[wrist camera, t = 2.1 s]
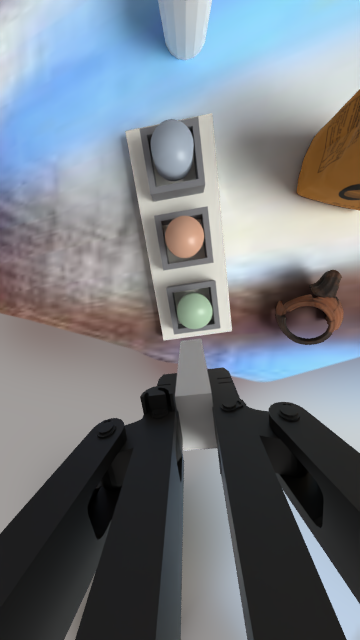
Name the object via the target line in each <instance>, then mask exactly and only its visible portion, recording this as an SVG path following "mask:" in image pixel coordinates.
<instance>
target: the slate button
mask: <svg viewBox="0 0 360 640" xmlns="http://www.w3.org/2000/svg"><path fill="white" fill-rule="evenodd" d="M193 147H194V143H193V137H192V134H191V132H190V130H189V129H188V127H187V126H186V125H185V124H184V123H182V122H181V121H178V120H173V119H171V120H166V121H164V122H162V123H160V124H159V125H158V126H157V127H156V129H155V130H154V132H153V135H152V138H151V152H152V156H153V159H154V163H155V166H156V169H157V171H158V173H159V174H160V175H161V176H162V177H163V178H164V179H166V180H169V181H178V180H181V179H183V178H184V177H185V176H186V175H187V174H188V173H189V171H190V169H191V166H192V161H193Z"/></svg>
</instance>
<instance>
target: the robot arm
mask: <svg viewBox="0 0 360 640" xmlns="http://www.w3.org/2000/svg"><path fill="white" fill-rule="evenodd" d="M140 398H141V402H142V407H143V412H144V416H143V418H142V419H141V420H139V421H137V422H134V423H131V424H128V425H125V426H124V422H123V421H122V420H121V419H117V418H113V419H108V420H105V421H103V422H101V423H99V424H98V425H96V426H95V427H94V428H93V429H92V430H91V431H90V432H89V434H88V435H87V436H86V437H85V438H84V440H82V442H81V443H80V444H79V445H78V446H77V447H76V448H75V449H74V451H73V452H72V453H71V454H70V455H69V456H68V458H67V459H66V460H65V461H64V462H63V463H62V464H61V466H60V467H59V468H58V469H57V470H56V471H55V472H54V473H53V475H52V476H51V477H50V478H49V479H48V480H47V481H46V482H45V484H44V485H43V486H42V487H41V488H40V489H39V490H38V492H37V493H36V494H35V495H34V496H33V497H32V498H31V499H30V501H29V502H28V503H27V504H26V505H25V506H24V507H23V509H22V510H21V511H20V512H19V513H18V514H17V515H16V516H15V518H14V519H13V520H12V521H11V522H10V523H9V524H8V526H7V527H6V528H5V529H4V530H3V531H2V533H1V534H0V640H64V639H65V636H66V634H67V632H68V630H69V628H70V626H71V623H72V621H73V619H74V617H75V615H76V613H77V610H78V608H79V606H80V604H81V602H82V600H83V598H84V595H85V593H86V591H87V589H88V587H89V585H90V582H91V580H92V578H93V576H94V574H95V576H94V580H93V583H92V586H91V590H90V593H89V596H88V599H87V603H86V606H85V609H84V612H83V616H82V619H81V622H80V626H79V629H78V632H77V636H76V639H75V640H181V639H180V636H181V589H182V534H183V484H184V460H183V454H182V447H183V449H184V451H186V450H198V449H210V448H218V456H219V465H220V474H221V476H222V482H223V489H224V495H225V501H226V508H227V514H228V520H229V526H230V532H231V538H232V545H233V552H234V557H235V564H236V570H237V577H238V583H239V589H240V595H241V602H242V607H243V614H244V620H245V626H246V633H247V639H248V640H346V637H345V635H344V632H343V630H342V628H341V625H340V623H339V621H338V618H337V616H336V614H335V611H334V609H333V607H332V604H331V602H330V600H329V597H328V595H327V593H326V590H325V588H324V586H323V583H322V581H321V579H320V577H319V574H318V572H317V569H316V567H315V565H314V562H313V560H312V558H311V556H310V553H309V551H308V548H307V546H306V544H305V541H304V539H303V537H302V534H301V532H300V530H299V527H298V525H297V523H296V520H295V518H294V516H293V513H292V511H291V509H290V506H289V504H288V502H287V499H286V497H285V495H284V492H285V494H286V495H287V496H288V498H289V499H290V501H291V502H292V504H293V505H294V507H295V508H296V510H297V511H298V513H299V514H300V516H301V517H302V519H303V520H304V522H305V523H306V525H307V526H308V528H309V529H310V531H311V532H312V534H313V535H314V537H315V538H316V539H317V541H318V542H319V544H320V545H321V547H322V548H323V550H324V551H325V553H326V554H327V556H328V557H329V559H330V560H331V562H332V563H333V565H334V566H335V568H336V569H337V571H338V572H339V574H340V575H341V576H342V578H343V580H344V581H345V583H346V584H347V586H348V587H349V588H350V590H351V591H352V593H353V594H354V596H355V597H356V599H357V600H358V602H359V603H360V453H359V452H357V451H356V450H355V449H354V448H352V447H351V446H350V445H349V444H347V443H346V442H345V441H343V440H342V439H341V438H340V437H339V436H337V435H336V434H335V433H334V432H332V431H331V430H330V429H329V428H327V427H326V426H325V425H324V424H322V423H321V422H320V421H319V420H317V419H316V418H315V417H314V416H312V415H311V414H310V413H308V412H307V411H306V410H305V409H303V408H302V407H300V406H298V405H296V404H293V403H288V402H278V403H275V404H273V405H271V406H270V408H269V412H268V411H260V410H255V409H252V408H249V407H248V406H246V404H245V403H244V401H243V400H241V399H240V398H239V395H238V393H237V390H236V388H235V386H234V383H233V380H232V378H231V376H230V373H229V371H227V370H226V369H225V368H215V369H207V366H206V361H205V356H204V351H203V346H202V340H201V339H195V340H186V341H181V343H180V353H179V362H178V372H177V373H175V374H166V375H163V376H162V377H161V378H160V379H159V381H158V384H157V386H156V387H152V388H150V389H148V390H146V391H145V392H143V394H142V395H141V397H140ZM282 489H283V490H282ZM283 491H284V492H283ZM95 572H96V573H95Z"/></svg>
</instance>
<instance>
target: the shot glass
mask: <svg viewBox="0 0 360 640" xmlns="http://www.w3.org/2000/svg"><path fill="white" fill-rule="evenodd" d="M158 3H159V9H160V15H161V21H162V26H163V32H164V38H165V43H166V46H167V48H168V49H169V51H170V53H171V54H172V55H173V56H175V57H176V58H177V59H182V60H188V59H191V58H194V57H195V56H196V55H197V54H198V53H199V52H200V51H201V49H202V47H203V45H204V43H205V38H206V32H207V26H208V21H209V15H210V9H211V3H212V0H158Z"/></svg>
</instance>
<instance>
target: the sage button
mask: <svg viewBox="0 0 360 640" xmlns="http://www.w3.org/2000/svg"><path fill="white" fill-rule="evenodd" d="M177 316H178V319H179V321H180V322H181V323H182V324H183V325H184V326H185V327H187V328H190V329H199V328H202V327H204V326H205V325H207V324H208V323H209V321H210V320H211V317H212V306H211V304H210V302H209V301H208V299H207V298H206V297H205V296H204V295H203V294H201V293H198V292H190V293H187V294H185V295H184V296H183V297H182V298H181V299H180V301H179V303H178V308H177Z"/></svg>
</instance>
